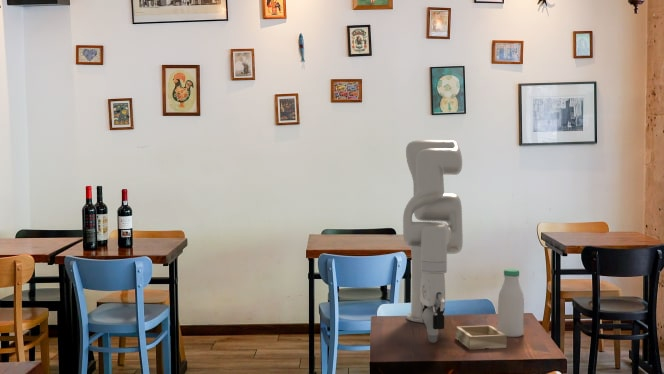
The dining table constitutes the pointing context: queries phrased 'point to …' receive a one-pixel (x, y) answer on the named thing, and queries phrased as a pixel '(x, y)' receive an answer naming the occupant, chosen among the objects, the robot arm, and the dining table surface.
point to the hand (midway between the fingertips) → (433, 325)
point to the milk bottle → (511, 305)
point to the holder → (481, 337)
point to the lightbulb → (430, 324)
